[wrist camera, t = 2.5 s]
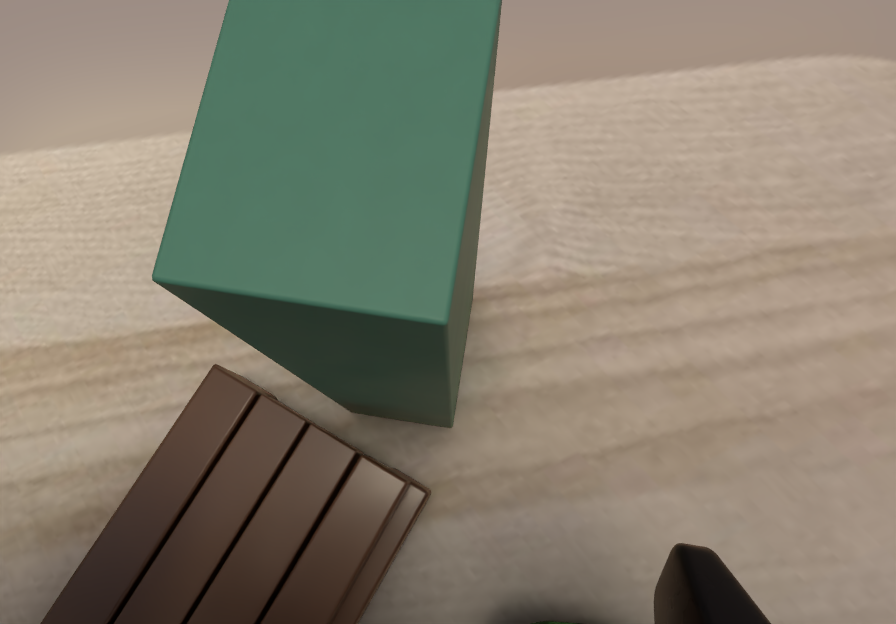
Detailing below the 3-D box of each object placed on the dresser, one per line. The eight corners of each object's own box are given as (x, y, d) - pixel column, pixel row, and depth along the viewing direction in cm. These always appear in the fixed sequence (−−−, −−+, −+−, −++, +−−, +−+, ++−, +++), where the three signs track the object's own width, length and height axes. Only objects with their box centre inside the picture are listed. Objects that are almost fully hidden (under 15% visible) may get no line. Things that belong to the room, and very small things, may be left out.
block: (452, 428, 19) (448, 325, 6) (349, 412, 19) (148, 279, 7) (472, 295, 20) (504, -20, 7) (375, 281, 20) (241, -54, 8)
